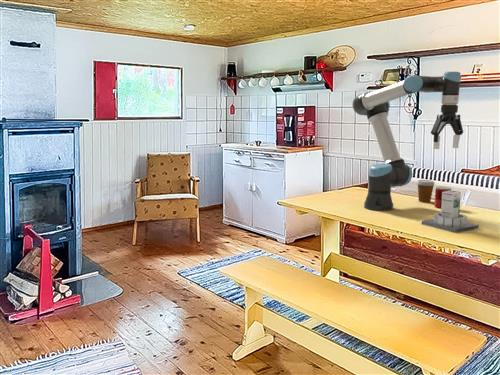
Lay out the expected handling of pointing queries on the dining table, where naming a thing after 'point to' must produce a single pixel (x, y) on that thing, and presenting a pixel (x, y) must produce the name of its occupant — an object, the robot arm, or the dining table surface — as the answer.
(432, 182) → the disposable coffee cup
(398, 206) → the dining table surface
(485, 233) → the dining table surface
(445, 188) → the canned food
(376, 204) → the robot arm
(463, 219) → the ring plate
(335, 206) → the dining table surface
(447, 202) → the syrup box
